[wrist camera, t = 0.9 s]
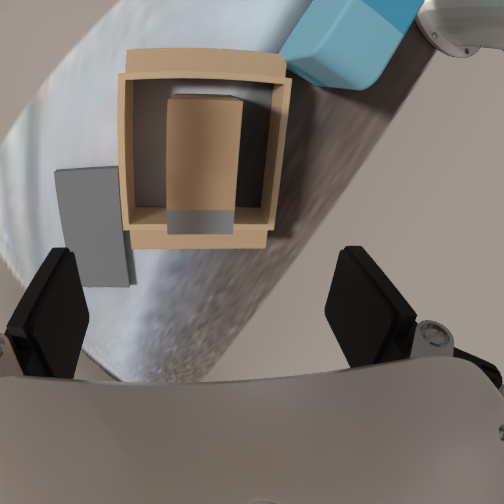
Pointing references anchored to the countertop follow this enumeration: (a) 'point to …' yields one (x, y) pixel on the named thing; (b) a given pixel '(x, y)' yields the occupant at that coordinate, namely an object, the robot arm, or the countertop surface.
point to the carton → (202, 67)
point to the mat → (94, 224)
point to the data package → (347, 40)
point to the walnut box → (202, 162)
